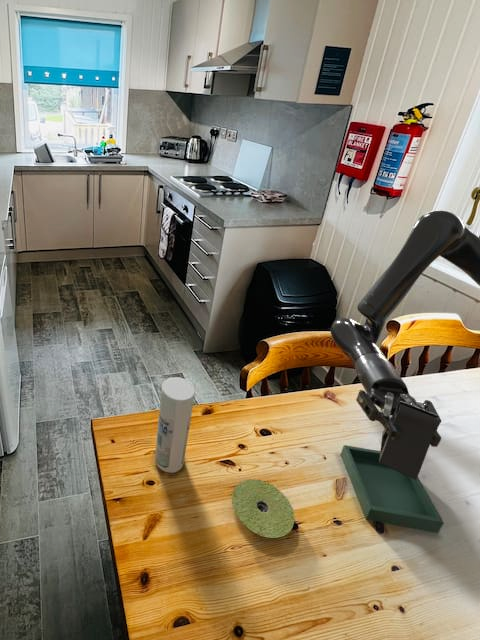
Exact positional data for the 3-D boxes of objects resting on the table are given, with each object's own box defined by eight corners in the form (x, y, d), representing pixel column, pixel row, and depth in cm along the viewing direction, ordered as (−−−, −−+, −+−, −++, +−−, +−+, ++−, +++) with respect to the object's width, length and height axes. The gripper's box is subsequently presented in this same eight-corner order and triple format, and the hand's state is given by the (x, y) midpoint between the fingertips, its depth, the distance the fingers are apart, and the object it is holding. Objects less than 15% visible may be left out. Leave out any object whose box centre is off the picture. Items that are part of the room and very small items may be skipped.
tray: (401, 464, 86) (405, 455, 85) (438, 533, 73) (444, 522, 72) (340, 454, 88) (343, 444, 87) (365, 519, 75) (370, 509, 74)
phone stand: (382, 432, 82) (401, 388, 78) (416, 447, 79) (439, 402, 74) (378, 463, 76) (399, 417, 71) (415, 480, 73) (440, 434, 68)
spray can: (149, 450, 87) (157, 379, 79) (177, 444, 89) (186, 374, 81) (160, 476, 81) (169, 403, 73) (189, 469, 83) (200, 397, 75)
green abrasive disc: (281, 558, 68) (284, 551, 67) (221, 517, 74) (222, 510, 73) (299, 508, 76) (301, 501, 76) (243, 475, 83) (244, 468, 82)
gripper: (349, 360, 87) (381, 418, 72) (420, 369, 85) (468, 432, 70) (340, 386, 90) (368, 447, 75) (408, 396, 88) (452, 461, 73)
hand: (416, 440), depth 73 cm, fingers closed on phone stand, 6 cm apart
